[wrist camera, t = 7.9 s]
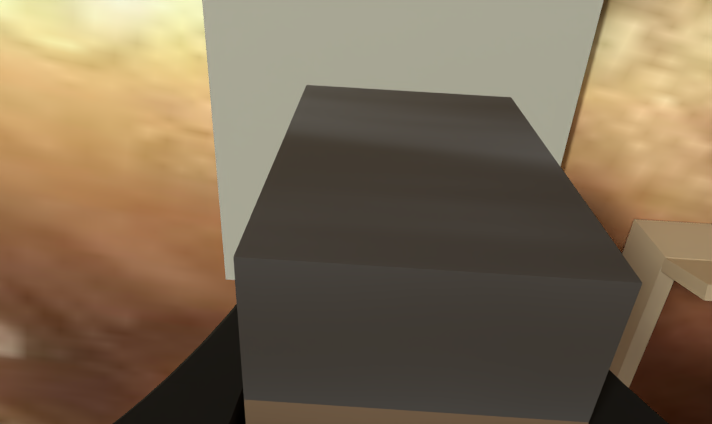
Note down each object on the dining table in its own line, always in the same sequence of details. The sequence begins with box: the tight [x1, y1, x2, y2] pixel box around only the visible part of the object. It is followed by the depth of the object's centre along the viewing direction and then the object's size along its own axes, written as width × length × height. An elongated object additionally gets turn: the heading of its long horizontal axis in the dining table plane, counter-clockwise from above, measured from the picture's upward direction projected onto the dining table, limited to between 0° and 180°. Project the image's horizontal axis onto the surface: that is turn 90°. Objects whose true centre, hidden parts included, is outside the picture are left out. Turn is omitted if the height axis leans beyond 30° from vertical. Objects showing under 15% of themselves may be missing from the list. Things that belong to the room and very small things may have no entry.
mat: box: [202, 0, 604, 280], centre depth 19 cm, size 12×12×1 cm
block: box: [233, 85, 642, 424], centre depth 10 cm, size 8×4×6 cm, turn 177°
